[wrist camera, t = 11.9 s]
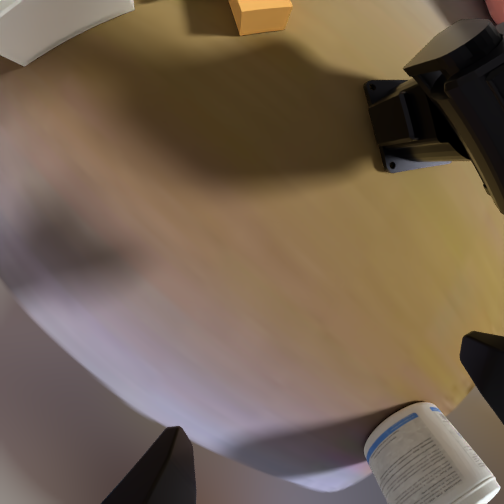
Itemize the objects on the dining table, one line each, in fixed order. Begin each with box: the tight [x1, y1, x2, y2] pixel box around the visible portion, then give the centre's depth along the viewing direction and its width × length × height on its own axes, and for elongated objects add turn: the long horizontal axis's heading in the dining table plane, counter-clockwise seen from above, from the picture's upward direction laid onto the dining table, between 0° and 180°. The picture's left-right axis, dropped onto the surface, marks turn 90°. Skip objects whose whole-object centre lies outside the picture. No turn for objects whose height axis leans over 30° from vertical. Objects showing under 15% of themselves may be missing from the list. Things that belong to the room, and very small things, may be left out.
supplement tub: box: [364, 402, 500, 504], centre depth 17 cm, size 10×10×15 cm
